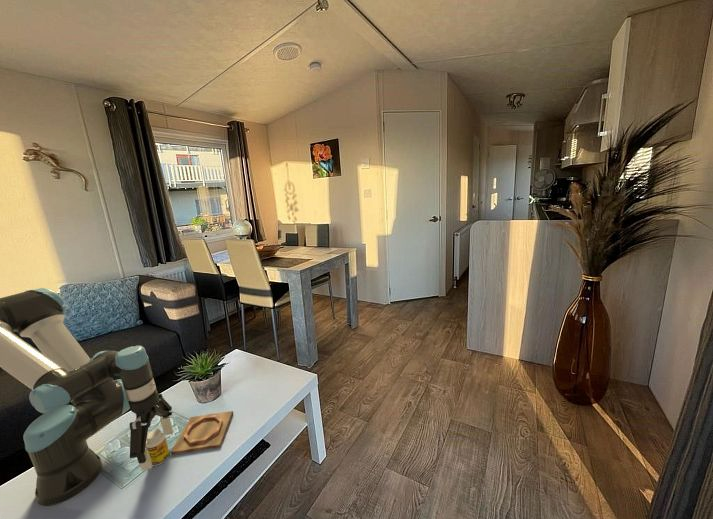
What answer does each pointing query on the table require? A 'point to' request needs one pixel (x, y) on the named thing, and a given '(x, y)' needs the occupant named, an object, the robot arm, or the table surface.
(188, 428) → the holder board
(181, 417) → the table surface
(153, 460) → the supplement bottle
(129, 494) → the table surface
